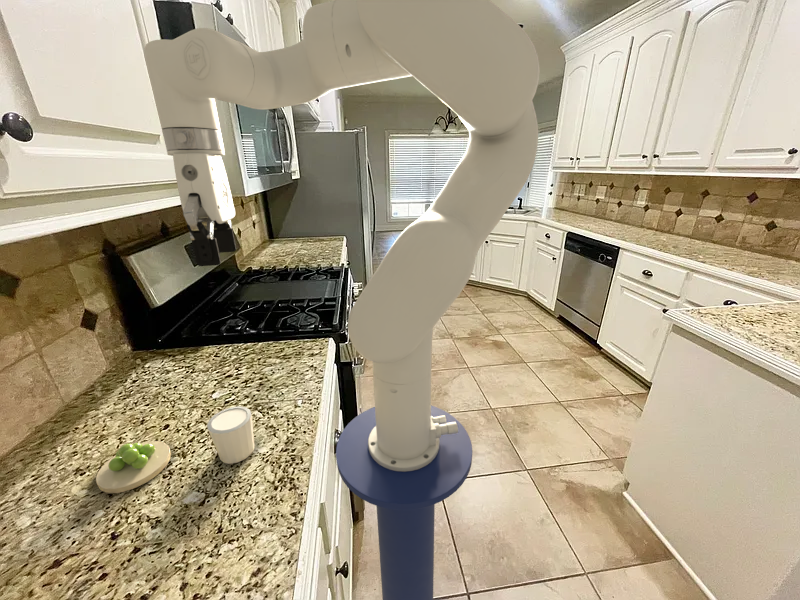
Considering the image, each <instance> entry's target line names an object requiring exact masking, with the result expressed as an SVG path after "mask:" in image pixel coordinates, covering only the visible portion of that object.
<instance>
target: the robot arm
mask: <svg viewBox="0 0 800 600" xmlns="http://www.w3.org/2000/svg"><path fill="white" fill-rule="evenodd" d="M527 33H528V32H526V31H525V30H524V29H523V27H522V26H520V24H518V23H517V22H516V21H515V19H513V18H512V17H511V16H510V15H508V14H507V13H506V12H505V11H504V10H502V9H501V8H500V7H499V6H497V4H495V3H494V2H493V1H491V0H329V1H325V2H321V3H317V4H313V5H312V6H310V7H309V8H308V9H307V10H306V12H305V14H304V16H303V23H302V38H303V39H301V40H300V41H298V42H297V43H295V44H292V45H290V46H286V47H283V48H278V49H274V50H268V51H258V50H256V49H254V48H253V47H250V46H248V45H246V44H245V43H243V42H241V41H239V40H237V39H234V38H232V37H230V36H228V35H226V34H224V33H222V32H220V31H218V30H216V29H213V28H209V27H198V28H194V29H191V30H189V31H187V32H185V33H183V34H181V35H179V36H177V37H176V38H173V39H154V40H151V41H148V43H146V44H145V46H144V49H143V56H144V61H145V66H146V69H147V73H148V78H149V82H150V86H151V91H152V94H153V98H154V102H155V103H154V104H155V107H156V111H157V116H158V119H159V123H160V128H161V133H162V136H163V137H162V138H163V140H164V141H163V142H164V145H165V149H166V153H167V156H171V157H172V159H173V166H174V173H175V179H176V185H177V189H178V196H179V200H180V204H181V208H182V215H183V217H184V219H185V222H186V224H187V225H186V228H187V230H188V231H189V239H190V240H191V244H192V247H193V252H194V257H195V261H196V265H197V266H198V267H208V266H219V265H221V263H222V259H221V255H220V253H235V252H236V251H237V244H236V239H235V235H234V234H235V233H234V230H233V229H234V228H233V224H232V221H231V220H233V219H234V218H235V216H236V209H235V206H234V201H233V196H232V192H231V188H230V183H229V179H228V175H227V172H226V168H225V164H224V161H223V159H222V156H226V153H225V152H226V151H225V146H224V142H223V136H222V131H221V125H220V121H219V115H218V110H217V105H216V100H217V101H221V102H225V103H231V104H235V105H239V106H242V107H246V108H250V109H254V110H273V109H281V108H286V107H293V106H298V105H299V106H300V105H302V104H306V103H310V102H312V101H316V100H317V99H319V98H321V97H324V96H326V95H327V94H329V93H330V92H332V91H335V90H336V91H337V90H340V89H341V90H342V89H346V88H351V87H356V86H357V87H358V86H362V85H368V84H373V83H379V82H387V81H390V80H391V81H392V80H398V79H403V78H408V77H412V78H414V79H415V80H416V81H417V82H419V83H420V84H421V85H422V86H423V87H424V88H426V89H427V90H428V91H429V92H431V93H432V94H433V95H434V96H435V97H436V98H438V99H439V100H440V101H441V102H442V103H443V104H444V105H446V106H447V107H448V108H449V109H450V110H451V111H452V112H454V114H456V115H457V116H458V118H459V120H460V122H462V124H463V125H464V126H465V128H466V129H467V131H468V135H469V139H468V145H467V147H466V150H465V152H464V154H463V156H462V158H461V159H460V161H459V162H458V163H457V165H456V166H455V168H454V169H453V170H452V172H451V173H450V175H449V177H448V179H447V181H446V182H445V183H444V185H443V187H442V189H441V190H440V191H439V193H438V194H437V196H436V197H435V199H434V200H433V202H432V203H431V204H430V206H429V207H428V208H427V210H426V211H425V212H424V213H423V214H422V215H420V217H418V218H417V219H416V220H415V221H413V222H412V223H410V224H409V225H408V226H407V227H406V228H405V229H404V230H403V231H401V233H400V234H399V235H398V237H397V238H396V239H395V241H394V242H393V243H392V244H391V246H390V247H389V249H388V251H387V252H386V254H385V256H384V257H383V259H382V260H381V262H380V263H379V265H378V266H377V268H376V270H375V271H374V273H373V274H372V275H371V277H370V279H369V280H368V281H367V283H366V285H365V286H364V288H363V289H362V292H361V293H360V294H359V296H358V298H357V299H356V300H355V302H354V304H353V305H352V308H351V309H350V313H349V315H348V320H347V333H348V337H349V340H350V342H351V345H352V346H353V348H354V350H355V351H356V352H357V353H358V354H359V355H360V356H361V357H363V358H364V359H365V360H368V361H370V362H372V378H373V379H372V380H373V397H374V407H375V415H376V426H375V427H374V428H373V430H372V431H371V433H370V435H369V439H368V446H369V452H370V454H371V456H372V458H373V459H374V460H375V461H376V462H377V463H378V464H379V465H381V466H383V467H385V468H387V469H390V470H394V471H403V472H406V471H413V470H417V469H420V468H422V467H424V466H426V465H428V464H429V463H430V462H431V461H432V460H433V459H434V458H435V457H436V455H437V453H438V451H439V443H440V441H439V438H441V435H445V434H448V435H449V434H455V433H458V427H457V424H456V422H450V423H446V417H445V415H443V416H438V417H432V416H431V405H432V370H433V369H432V364H433V363H432V362H433V361H432V360H433V358H432V357H433V334H434V333H433V332H434V327H435V326H436V325H437V324H438V322H439V321H441V320H440V319H441V318H442V317H443V316H444V314H446V312H447V311H448V310H449V309H450V308H451V306H452V305H453V303H455V301H456V300H457V298H459V296H460V295H461V293H462V291H463V290H464V288H465V287H466V285H467V284H468V282H469V280H470V278H471V276H472V274H473V271H474V267H475V265H476V257H477V255H478V252H479V250H480V248H481V247H482V245H483V244H484V242H485V241H486V240H487V238H488V237H489V236H490V235H491V233H492V232H493V230H494V229H495V228H496V226H497V225H498V224H499V223H500V221H501V220H502V218H503V217H504V215H505V214H506V212H507V211H508V210H509V208H510V206H512V204H513V203H514V201H515V200H516V198H517V197H518V196H519V194H520V192H521V191H522V190H523V187H524V186H525V185H526V182H527V180H528V178H529V176H530V174H531V172H532V170H533V167H534V164H535V160H536V156H537V152H538V144H539V123H538V118H537V117H538V116H537V114H536V113H537V112H536V110H535V105H534V102H533V99H534V98H535V95H536V93H537V89H538V87H539V81H540V59H539V55H538V52H537V49H536V46H535V44H534V43H533V41H532V39H531V38H530V36H529V34H527ZM443 423H445V424H443ZM439 424H442V425H439Z"/></svg>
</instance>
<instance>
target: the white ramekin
mask: <svg viewBox="0 0 800 600" xmlns="http://www.w3.org/2000/svg"><path fill="white" fill-rule="evenodd" d="M206 427H207V431H208V433H209V435H210V438H211V440H212V443H213V445H214V447H215V450H216V452H217V455H218V458H219V459H220V461H221V462H222V463H224V464H227V465H228V464H229V465H232V464H236V463H239V462H242V461H244V460H245V459H247V458H249V457H250V456H251V455H252V453H253V452H254V449H255V435H254V424H253V414H252V411H251V409H249V408H248V407H246V406H231V407H228V408H225V409H223V410H220V411H219V412H217V413H215V414H214V415H212V417H211V418H210V419H209V420H208V422H207V425H206Z"/></svg>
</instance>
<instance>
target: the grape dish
mask: <svg viewBox="0 0 800 600" xmlns="http://www.w3.org/2000/svg"><path fill="white" fill-rule="evenodd" d="M171 456H172V451H171V449H170V446H169V445H168V444H167V443H165V442H164V441H159V440H152V441H151V440H149V441H145V442H141V443H140V442H134V443H124V444H123V445H121V446H120V447H119V449H118V450H117V451H116V452H115V455H113V456H112V457H111V458H109V459H108V460H107V461H106V462H105V463H104V464H103V465H102V466H101V467H100V468H99V470H98V472H97V473H96V476H95V482H96V485H97V487H98V489H99V490H100V491H102V492H103V493H106V494H118V493H119V494H121V493H125V492H128V491H130V490H133V489H136V488H138V487H140V486H142V485H144V484H146V483H148V482H149V481H151V480H153V479H154V478H155V477H157V476H158V475H159V474H160V473H161V472H162V471H163V470H164V469H165V468H166V467H167V466H168V464H169V462H170V460H171V458H172V457H171Z"/></svg>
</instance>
